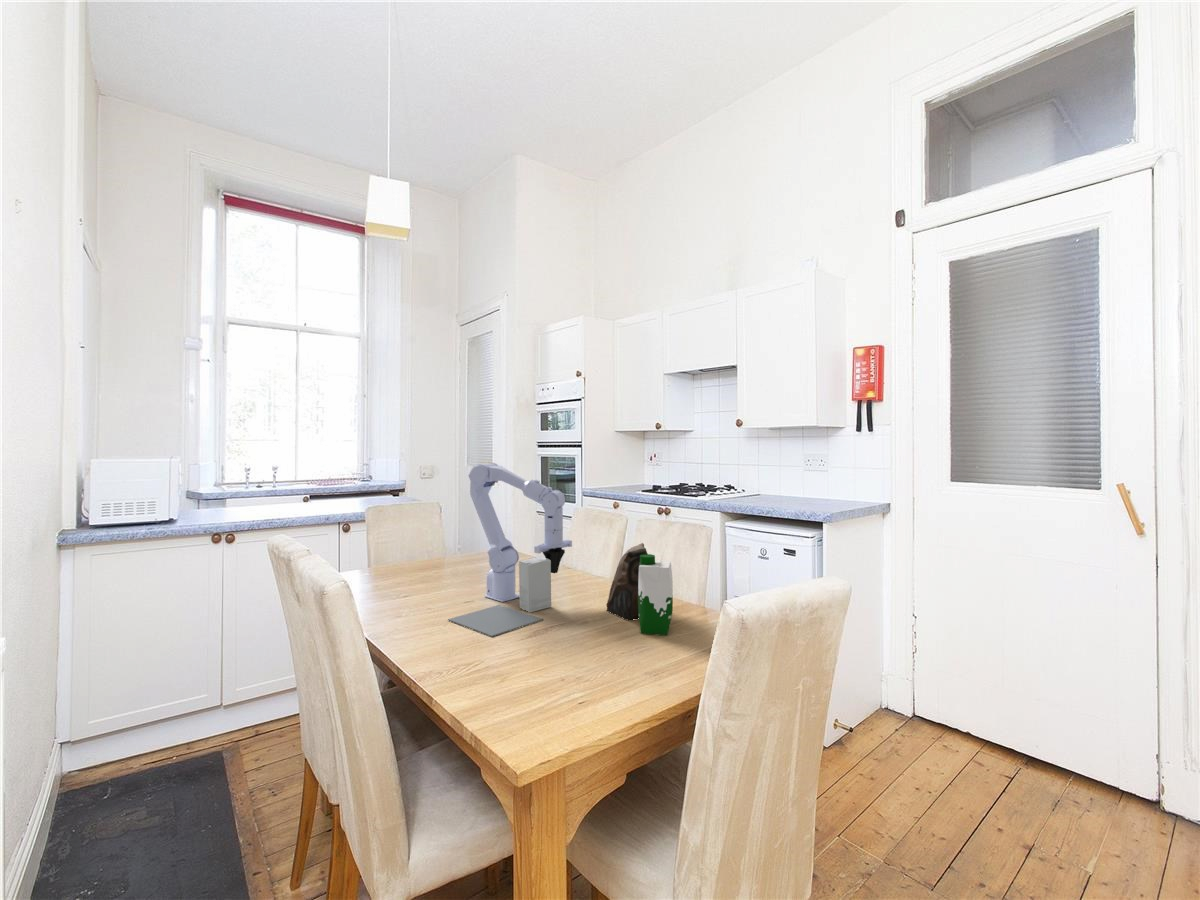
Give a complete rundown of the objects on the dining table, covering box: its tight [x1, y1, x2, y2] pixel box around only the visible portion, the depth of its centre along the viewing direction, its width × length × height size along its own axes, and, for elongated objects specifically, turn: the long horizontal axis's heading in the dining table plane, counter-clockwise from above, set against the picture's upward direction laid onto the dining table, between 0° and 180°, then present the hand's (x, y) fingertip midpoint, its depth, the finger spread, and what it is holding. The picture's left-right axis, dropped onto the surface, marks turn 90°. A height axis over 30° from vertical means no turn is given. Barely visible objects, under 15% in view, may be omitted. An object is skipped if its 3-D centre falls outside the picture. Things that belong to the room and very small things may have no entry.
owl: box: [606, 542, 649, 621], centre depth 161 cm, size 13×13×20 cm
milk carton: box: [638, 553, 674, 636], centre depth 148 cm, size 9×9×20 cm
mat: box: [447, 604, 544, 638], centre depth 156 cm, size 20×18×1 cm
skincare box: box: [518, 556, 552, 613], centre depth 168 cm, size 8×6×15 cm
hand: (553, 572), depth 173 cm, fingers closed
